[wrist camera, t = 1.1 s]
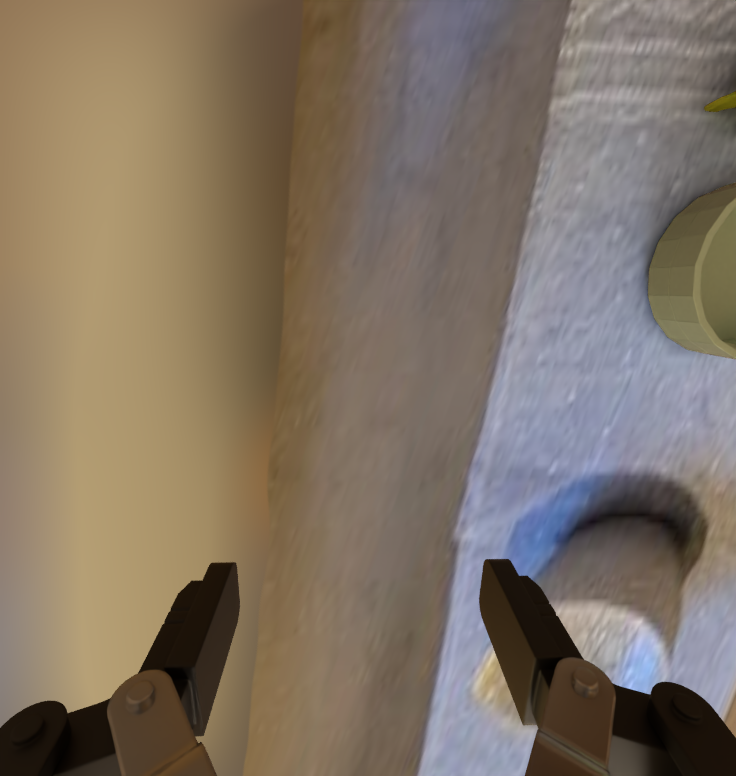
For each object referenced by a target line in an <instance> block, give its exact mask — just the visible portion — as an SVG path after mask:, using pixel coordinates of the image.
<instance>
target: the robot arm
mask: <svg viewBox="0 0 736 776" xmlns="http://www.w3.org/2000/svg"><path fill="white" fill-rule="evenodd" d="M479 604H480V612H481V616H482V619H483V622H484V625H485V627H486V630H487V632H488V635H489V638H490V640H491V643H492V645H493V648H494V651H495V653H496V656H497V658H498V661H499V664H500V666H501V669H502V672H503V674H504V677H505V679H506V682H507V685H508V687H509V690H510V692H511V695H512V698H513V700H514V703H515V705H516V708H517V711H518V713H519V716H520V719H521V721H522V724H523V725H537V726H538V728H539V729H538V730H537V733H536V737H535V740H534V744H533V748H532V751H531V755H530V759H529V762H528V766H527V770H526V773H525V776H736V738H735V736H734V735H733V734H732V732H731V731H730V730H729V729H728V727H727V726H726V725H725V723H724V722H723V721H722V719H721V718H720V717H719V715H718V714H717V713H716V712H715V710H714V709H713V708H712V707H711V706H710V705H709V704H708V703H707V702H706V701H705V700H704V699H703V698H702V697H701V696H699V695H698V694H696V693H695V692H693V691H692V690H690V689H688V688H686V687H684V686H682V685H679V684H676V683H672V682H660V683H657V684H656V685H655V686H654V687H653V688H652V691H651V695H649V694H645V693H642V692H638V691H634V690H631V689H627V688H623V687H620V686H617V685H615V684H613V683H612V682H611V680H610V679H609V678H608V677H607V675H606V674H605V673H604V672H603V671H602V670H600V669H599V668H598V667H597V666H595V665H594V664H592V663H590V662H588V661H586V660H584V659H583V658H582V656H581V654H580V653H579V651H578V649H577V648H576V646H575V644H574V643H573V641H572V639H571V638H570V636H569V634H568V633H567V631H566V629H565V628H564V626H563V624H562V623H561V621H560V619H559V617H558V616H556V612H555V611H554V609H553V607H552V606H551V604H549V601H548V599H547V597H546V596H545V594H544V592H543V591H542V589H541V588H540V587H539V586H538V585H537V584H536V583H535V582H534V581H533V580H531V579H530V578H529V577H528V576H519V575H518V573H517V572H516V570H515V568H514V566H513V564H512V563H511V561H510V560H509V559H486V560H485V561H484V565H483V572H482V580H481V588H480V597H479ZM239 609H240V599H239V586H238V574H237V565H236V563H234V562H233V563H211V564H210V565H209V567H208V569H207V572H206V574H205V576H204V579H203V581H191V582H190V583H189V584H188V585H187V586H186V587H185V588H184V589H183V590H182V591H181V592H180V593H178V595H177V598H176V599H175V601H174V603H173V605H172V607H171V611H170V612H169V613H168V615H167V617H166V619H165V623H164V624H163V625H162V627H161V629H160V631H159V633H158V635H157V637H156V639H155V641H154V643H153V645H152V647H151V649H150V651H149V653H148V655H147V657H146V659H145V661H144V663H143V665H142V667H141V669H140V671H139V672H138V674H136V675H134V676H133V677H131V678H129V679H128V680H126V681H125V682H124V683H123V684H122V685H121V686H119V688H118V689H117V690H116V691H115V693H114V694H113V695H112V697H111V698H110V699H108V700H106V701H103V702H101V703H98V704H95V705H92V706H89V707H86V708H83V709H80V710H77V711H74V712H70V713H67V710H66V708H65V706H64V705H63V704H62V703H60V702H57V701H44V702H40V703H36V704H34V705H31V706H29V707H27V708H25V709H23V710H22V711H21V712H19V713H17V714H16V715H14V716H13V717H12V718H10V719H9V720H8V721H7V722H6V723H5V724H4V725H3V726H2V727H1V728H0V776H217V775H216V772H215V770H214V768H213V766H212V763H211V761H210V758H209V756H208V753H207V752H206V749H205V747H204V745H203V744H202V742H200V743H198V742H197V740H196V738H195V736H204V733H205V729H206V726H207V723H208V720H209V716H210V713H211V710H212V706H213V703H214V699H215V696H216V693H217V689H218V686H219V683H220V679H221V676H222V672H223V669H224V666H225V663H226V659H227V656H228V652H229V649H230V646H231V643H232V638H233V636H234V632H235V629H236V626H237V622H238V616H239Z"/></svg>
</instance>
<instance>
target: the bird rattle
mask: <svg viewBox="0 0 736 776" xmlns="http://www.w3.org/2000/svg"><path fill="white" fill-rule="evenodd" d="M735 107H736V91H735V92H733V93H731V94H728V95H726V96H723V97H721V98H719V99H717V100H715V101H713V102H711V103H709V104H707V105H706V106H705V107H704V110H705V111H709V112H718V111H720V110H725V109H729V108H735Z"/></svg>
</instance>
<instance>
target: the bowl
mask: <svg viewBox="0 0 736 776" xmlns="http://www.w3.org/2000/svg"><path fill="white" fill-rule="evenodd" d="M649 268H650V269H649V282H648V298H649V302H650V305H651V309H652V312H653V316H654V318H655V320H656V322H657V323H658V325H659V326H660V327H661V329H662V330H663V331H664V333H665V334H666V336H667V337H668V338H670V339H671V340H673V341H674V342H676V343H677V344H679V345H680V346H682V347H684V348H685V349H687V350H690V351H695V352H700V353H704V354H709V355H714V356H720V357H725V358H730V359H736V183H733V184H729V185H725V186H723V187H720V188H718V189H716V190H714V191H711V192H709V193H707V194H705V195H703V196H700V197H699V198H697V199H696V200H695V201H693V202H692V203H691V204H690V205H689V206H688V207H686V208H685V209H684V210H683V211H682V212H681V213H679V214H678V215H677V216H676V217H675V218H674V220H673V221H672V223H671V224H670V225H669V227H668V228H667V230H666V231H665V233H664V234H663V236H662V237H661V239H660V240H659V242H658V244H657V247H656V250H655V253H654V256H653V259H652V262H651V264H650V267H649Z"/></svg>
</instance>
